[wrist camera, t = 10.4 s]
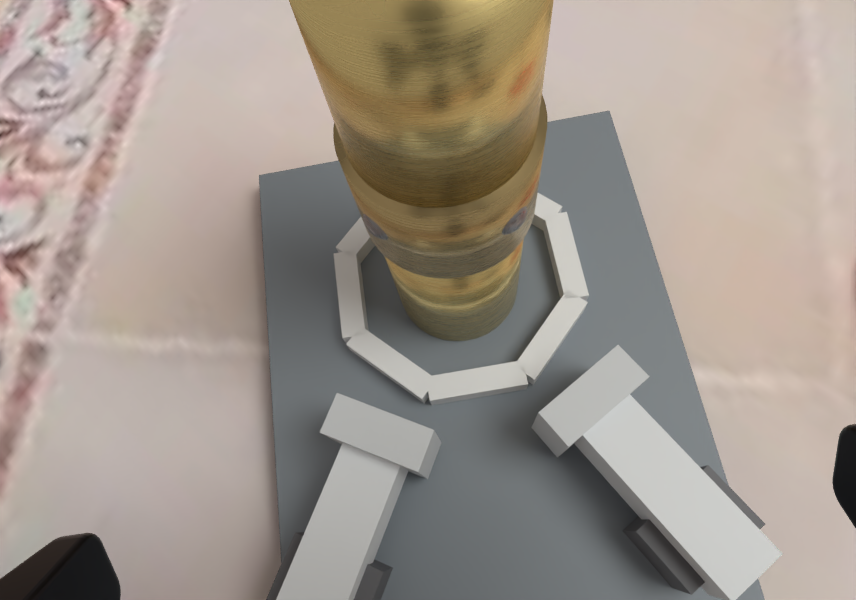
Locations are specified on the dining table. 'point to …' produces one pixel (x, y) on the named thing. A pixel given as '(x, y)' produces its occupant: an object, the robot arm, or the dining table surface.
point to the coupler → (438, 142)
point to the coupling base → (495, 411)
